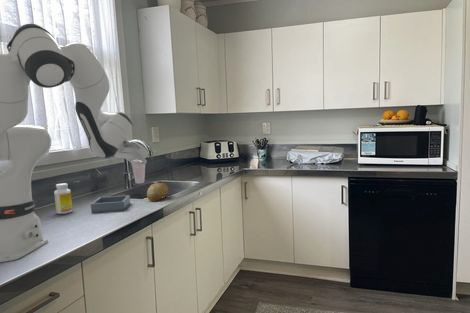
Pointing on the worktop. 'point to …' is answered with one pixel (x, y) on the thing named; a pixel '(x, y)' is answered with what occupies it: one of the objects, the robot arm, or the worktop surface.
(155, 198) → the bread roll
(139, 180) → the smoothie
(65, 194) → the supplement bottle
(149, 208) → the worktop surface
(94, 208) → the tray
